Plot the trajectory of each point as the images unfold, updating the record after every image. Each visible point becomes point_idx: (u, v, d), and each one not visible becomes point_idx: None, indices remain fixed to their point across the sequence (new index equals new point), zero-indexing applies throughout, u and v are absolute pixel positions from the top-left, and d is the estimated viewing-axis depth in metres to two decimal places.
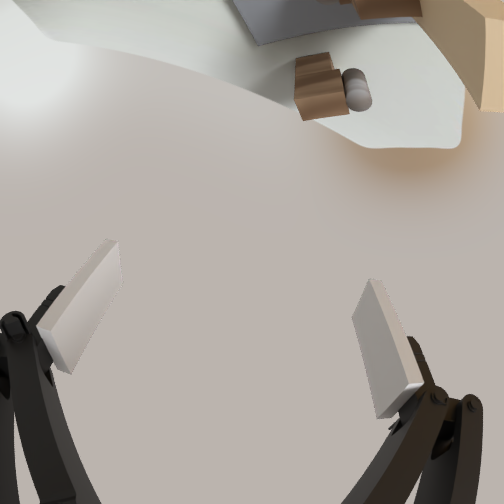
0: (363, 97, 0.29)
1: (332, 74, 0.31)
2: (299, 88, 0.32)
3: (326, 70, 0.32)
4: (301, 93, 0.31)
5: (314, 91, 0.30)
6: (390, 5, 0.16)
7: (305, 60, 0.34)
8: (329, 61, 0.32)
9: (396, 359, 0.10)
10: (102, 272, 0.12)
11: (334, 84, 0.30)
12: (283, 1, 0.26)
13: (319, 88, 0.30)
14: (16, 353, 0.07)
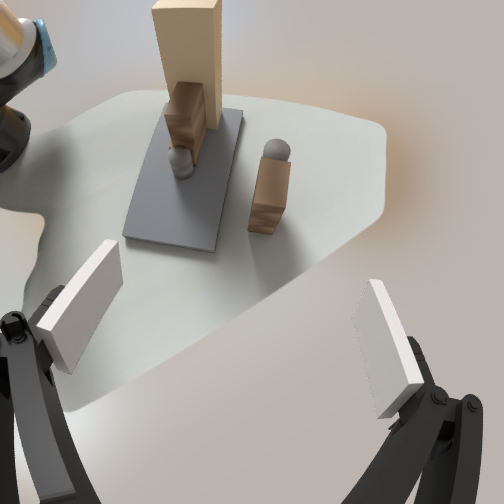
0: (273, 144, 0.34)
1: None
2: None
3: None
4: None
5: (256, 185, 0.34)
6: (187, 97, 0.34)
7: None
8: (254, 192, 0.41)
9: (396, 359, 0.10)
10: (102, 272, 0.12)
11: (258, 170, 0.35)
12: (182, 205, 0.42)
13: (256, 182, 0.35)
14: (16, 353, 0.07)
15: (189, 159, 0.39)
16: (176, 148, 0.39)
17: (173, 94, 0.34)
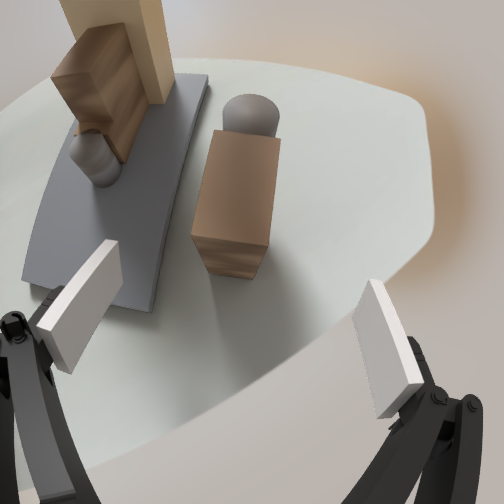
0: (243, 104, 0.15)
1: None
2: None
3: None
4: None
5: None
6: (93, 45, 0.15)
7: None
8: None
9: (396, 359, 0.10)
10: (102, 272, 0.12)
11: None
12: (100, 231, 0.23)
13: None
14: (16, 353, 0.07)
15: (102, 152, 0.20)
16: (83, 135, 0.20)
17: (74, 46, 0.15)
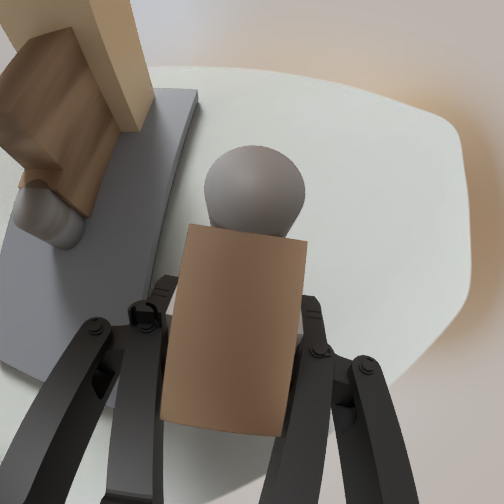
0: (241, 167, 0.09)
1: None
2: None
3: None
4: None
5: None
6: (26, 65, 0.09)
7: None
8: None
9: None
10: None
11: None
12: (64, 308, 0.17)
13: None
14: (138, 342, 0.09)
15: (51, 214, 0.14)
16: (28, 189, 0.14)
17: (7, 67, 0.09)
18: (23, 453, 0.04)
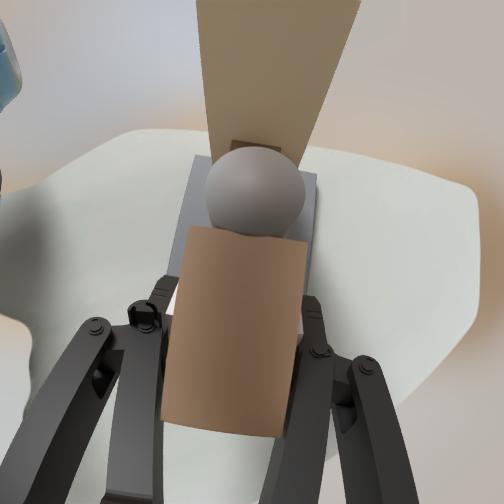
0: (241, 168, 0.09)
1: None
2: None
3: None
4: None
5: None
6: None
7: None
8: None
9: None
10: None
11: None
12: None
13: None
14: (138, 342, 0.09)
15: None
16: None
17: None
18: (22, 453, 0.04)
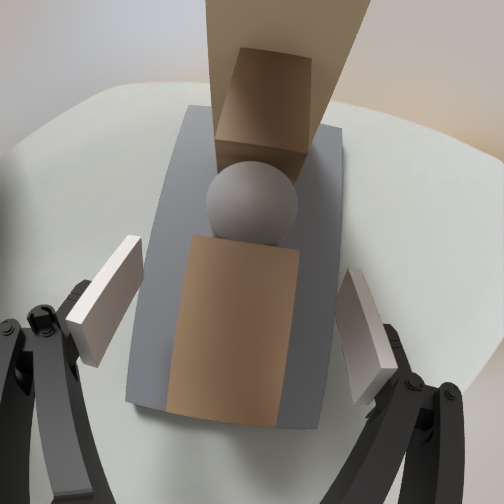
0: (239, 182, 0.10)
1: None
2: None
3: None
4: None
5: None
6: (281, 90, 0.11)
7: None
8: None
9: (370, 344, 0.11)
10: (127, 267, 0.13)
11: None
12: None
13: None
14: (43, 347, 0.08)
15: None
16: None
17: (236, 78, 0.12)
18: None
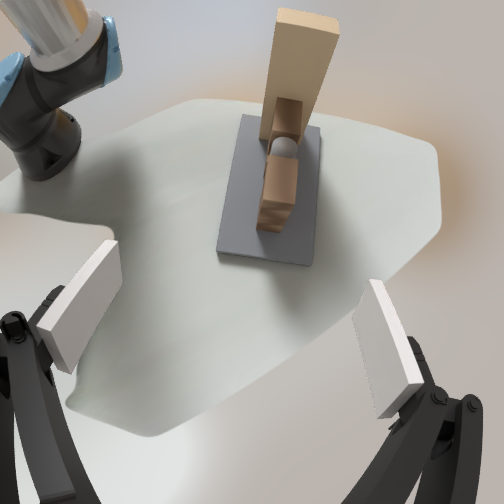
0: (281, 142, 0.35)
1: (264, 178, 0.38)
2: None
3: None
4: None
5: (264, 183, 0.34)
6: (292, 114, 0.36)
7: None
8: None
9: (396, 359, 0.10)
10: (102, 272, 0.12)
11: (266, 168, 0.36)
12: None
13: None
14: (16, 353, 0.07)
15: None
16: None
17: (277, 110, 0.36)
18: None
